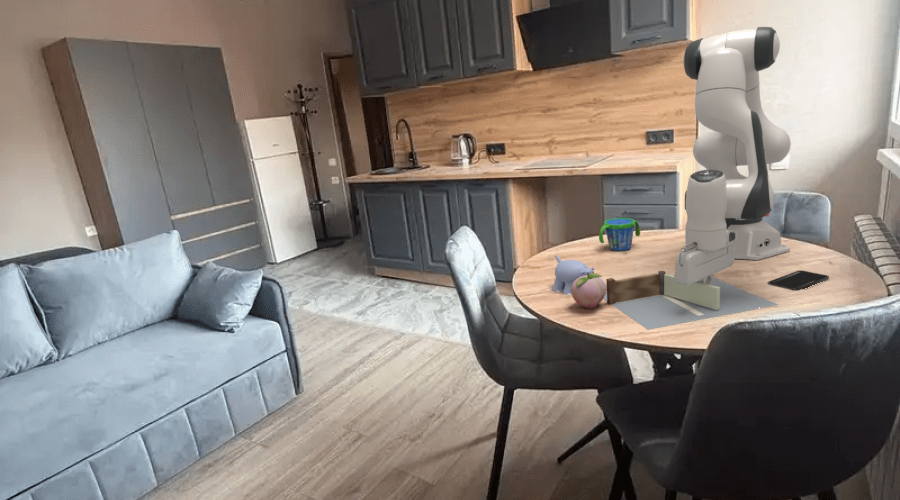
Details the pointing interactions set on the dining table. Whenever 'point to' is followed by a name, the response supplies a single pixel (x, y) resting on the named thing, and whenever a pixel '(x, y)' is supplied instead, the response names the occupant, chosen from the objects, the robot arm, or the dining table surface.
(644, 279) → the fence fixed
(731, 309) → the board
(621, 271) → the dining table surface
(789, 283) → the phone
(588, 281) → the decorative fruit
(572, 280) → the hippopotamus toy
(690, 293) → the fence gate
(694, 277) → the robot arm
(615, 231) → the snack cup
